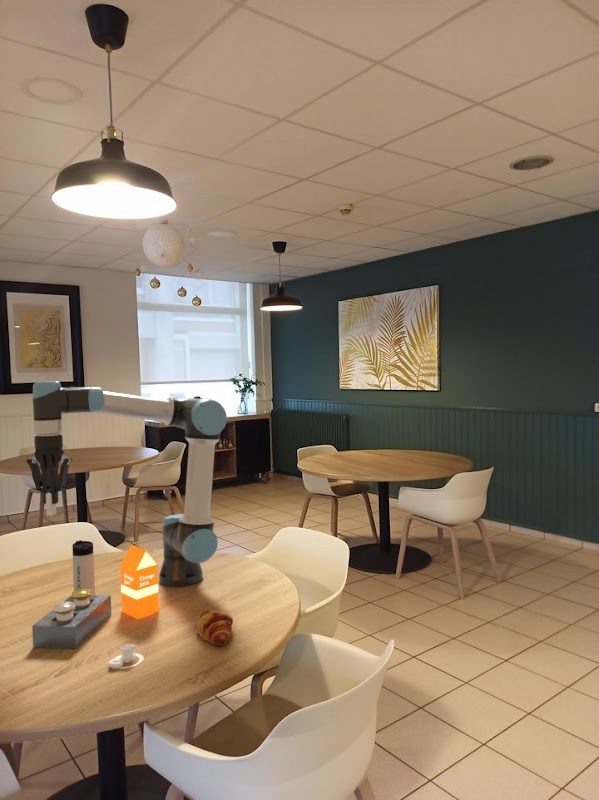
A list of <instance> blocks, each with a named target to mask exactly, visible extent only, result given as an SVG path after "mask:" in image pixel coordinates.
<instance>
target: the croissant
mask: <svg viewBox="0 0 599 800" xmlns="http://www.w3.org/2000/svg"><path fill="white" fill-rule="evenodd" d="M196 623H197V624H196V627H195V633H196V634H199V636H200V638H201V639H202V640H205V641H207V642H209V643H211V644H213V645H216V646H222V645H225V644H226V643H228V641H230V638H231V634H232V630H233V627H232V626H233V623H234V619H233V618H232V617H231V616H230V615H229V614H228V613H227V612H222V611H217V610H210V609H206V610H204V611H201V613H200V614H199V616H198V617H197V622H196Z"/></svg>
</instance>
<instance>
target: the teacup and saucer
mask: <svg viewBox="0 0 599 800" xmlns="http://www.w3.org/2000/svg"><path fill="white" fill-rule="evenodd" d="M134 648H135V650H134ZM137 650H138V646H137V645H136V644H131V643H125V644H123V645H121V646H120V655H118V656H116V657H114V658H112V659H110V660H109V661H108V663H107V666H108V667H109V668H112V669H119V670H125V669H126V670H127V669H131V668H134V667H137V666H139V665H141V664H142V663H143V662H144V659H145V658H144V655H143V654H141V653H137ZM134 657H137V658H138V661H137V662H136V663H135V664H131V665H129V666H124V663H125V664H127V663H131V662H133V661H132V660H133V659H134Z"/></svg>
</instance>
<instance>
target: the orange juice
mask: <svg viewBox="0 0 599 800" xmlns="http://www.w3.org/2000/svg"><path fill="white" fill-rule="evenodd" d="M119 568H120V593H121V595H120V596H121V612H122V613H124V614H126V615H128V616H130V617H132V618H134V619H136V620H139V619H141V618H145V617H147V616H151V615H152V614H155V613H158V612H159V610H160V607H159V606H160V605H159V577H158V575H159V574H158V564H157V562H156V561H155V560H154V558H153V557H152V556H151V554H150V553H149V552H148V551H147V549H144V548H141V547H138V546H136V545H132V544H131V545H130V547H129V549H127V552H126V554H125V556H124V558H123V560H122V561H121V564H120V567H119Z"/></svg>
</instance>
